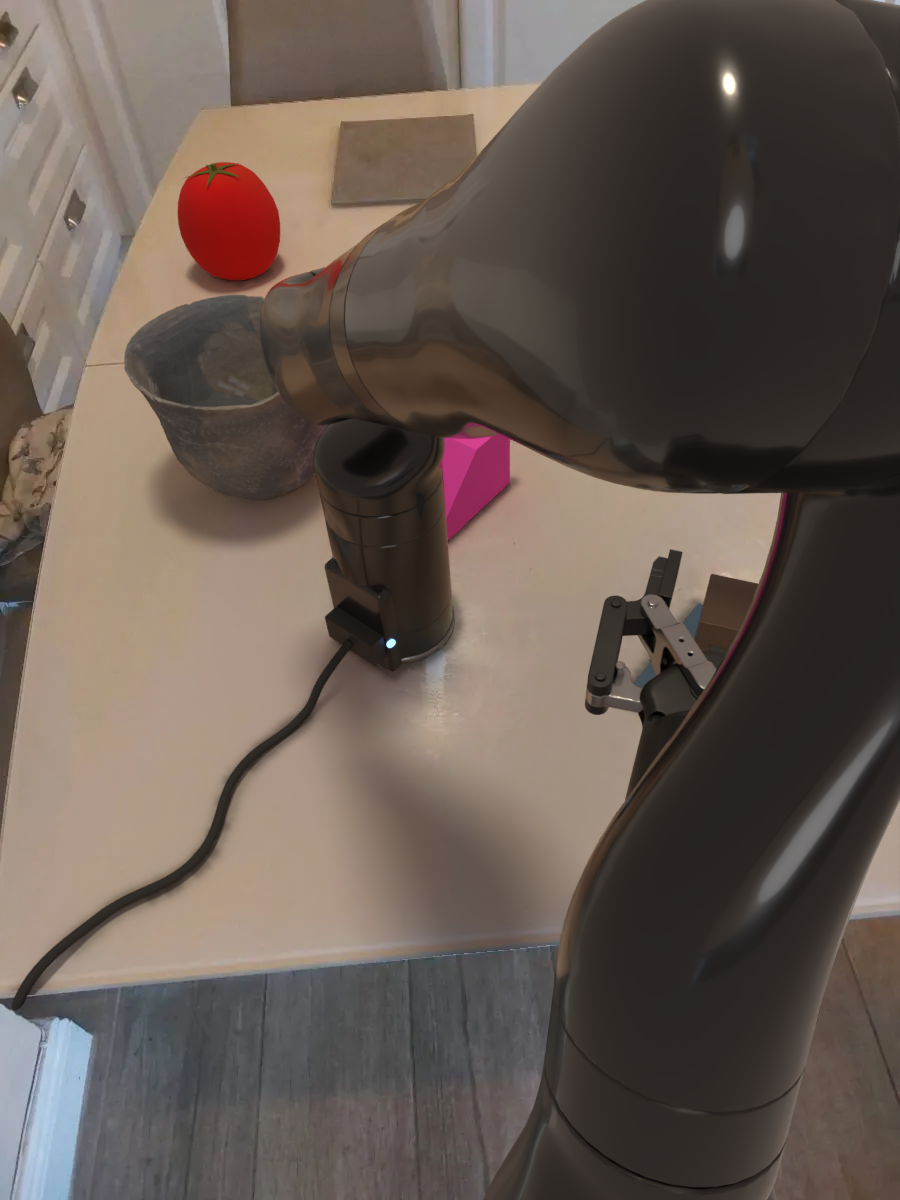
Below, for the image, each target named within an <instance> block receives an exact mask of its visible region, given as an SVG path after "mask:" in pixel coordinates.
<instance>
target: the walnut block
mask: <svg viewBox="0 0 900 1200" xmlns="http://www.w3.org/2000/svg"><path fill="white" fill-rule="evenodd" d="M707 583H708V584H707V587H706V591H705V595H704V598H703V603H702V605H703V606H702V610H701V614H700V618H699V622H698V626H697V630H696V634H695V638H694V640H695V642H696V643H697V645H698V646H699V648H700V649H701V650H702V649H708V648H709V645H713V646H717V647H721V648H725V649H729V647H730V645H731V644H732V642H733V640H734V638H735V636H736V634H737V632H738V631H739V629H740V627H741V625H742V623H743V620H744V618H745V616H746V614H747V611H748V609H749V607H750V605H751V602H752V600H753V598H754V595H755V592H756V589H757V587H758V584H759V582H754V581H753V582H752V581H748V580H744V579H739V578H734V577H729V576H725V575H720V574H715V573H710V576H709V580H708V582H707Z"/></svg>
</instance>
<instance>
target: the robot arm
mask: <svg viewBox="0 0 900 1200" xmlns="http://www.w3.org/2000/svg"><path fill="white" fill-rule="evenodd" d="M264 298H265V300H264V302H263V305H262V311H261V316H260V340H261V346H262V352H263V357H264V360H265V364H266V367H267V369H268V372H269V375H270V377H271V379H272V381H273V383H274V385H275V387H276V389H277V390H278V392H279V394H280V395H281V397H282V398H283V400H284V401H285V402H286V404H287V405H288V406H289V407H290V408H291V409H292V410H293V411H294V412H295V413H296V414H297V415H298V416H299V417H301V418H302V419H304V420H305V421H307V422H309V423H311V424H314V425H328V426H327V427H326V428H325V429H324V431H323V432H322V433H321V435H320V436H319V438H318V440H317V442H316V445H315V448H314V453H313V465H314V472H315V473H314V477H315V481H316V484H317V485H316V486H317V489H318V494H319V497H320V502H321V507H322V511H323V517H324V523H325V528H326V531H327V537H328V540H329V546H330V550H331V556H332V557H331V558H330V559H329V560H328V561H327V562H325V564H324V572H325V576H326V580H327V581H326V582H327V584H328V589H329V594H330V598H331V599H330V600H331V603H332V607H333V609H331V610H330V611H329V612H328V613H327V614H326V615H325V616H324V620H325V623H326V628H327V632H328V637H329V638H331V639H332V640H334V641H335V642H337V643H338V644H340V647H339V648H338V649H337V651H336V652H335V654H333V656H332V657H331V658H330V660H329V662H328V663H327V664H326V666H325V667H324V669H323V670H322V671H321V673H320V675H319V676H318V678H317V679H316V681H315V683H314V685H313V688H312V690H311V692H310V695H309V697H308V700H307V702H306V703H305V705H304V707H302V709H301V710H300V711H299V712H298V714H297V715H295V717H294V718H293V719H292V720H291V721H290V722H289V723H288V724H286V725H285V726H284V727H283V728H281V729H280V730H279V731H277V732H276V733H274V734H273V735H272V736H270V737H268V738H267V739H266V740H264V741H263V742H261V743H259V744H258V745H257V746H256V747H254V748H253V749H252V750H250V751H249V753H247V755H245V756H244V757H243V759H241V761H240V762H238V764H237V765H236V767H234V769H233V770H232V772H231V773H230V775H229V777H228V779H227V780H226V781H225V784H224V786H223V788H222V791H221V794H220V796H219V799H218V803H217V804H216V805H217V806H216V809H215V812H214V816H213V818H212V822H211V825H210V828H209V830H208V833H207V835H206V836H205V838H204V840H203V842H202V843H201V845H200V846H199V848H198V849H197V850H196V851H195V853H194V854H193V855H192V856H191V857H190V858H189V859H188V860H186V862H185V863H183V864H182V865H181V866H179V867H178V868H177V869H176V870H174V871H172V872H171V873H169V874H167V875H166V876H164V877H162V878H160V879H158V880H156V881H154V882H151V883H149V884H146V885H145V886H142V887H140V888H138V889H136V890H135V889H134V890H133V891H131V892H129V893H127V894H125V895H123V896H121V897H119V898H118V899H116V900H114V901H112V902H111V903H109V904H107V905H105V906H104V907H103V908H101V909H100V910H99V911H97V912H96V913H95V914H93V915H92V916H90V917H89V918H88V919H87V920H85V921H84V922H83V923H81V924H80V925H79V926H77V927H75V929H73V930H72V931H71V932H70V933H68V934H67V935H66V936H65V937H63V938H62V939H61V940H59V941H58V942H57V944H55V945H54V946H53V947H51V948H50V949H49V950H48V951H47V952H46V953H45V954H44V955H42V957H41V958H40V959H39V960H38V961H37V962H36V964H35V965H34V966H33V967H32V968H31V969H30V971H29V972H28V974H27V975H26V976H25V978H24V979H23V981H22V982H21V984H20V986H19V988H18V989H17V991H16V993H15V995H14V997H13V1000H12V1003H11V1010H12V1011H18V1010H20V1009H21V1008H22V1007H23V1005H25V1002H26V999H27V998H28V996H29V994H30V993H31V990H32V989H33V987H34V986H35V984H36V982H37V981H38V980H39V978H40V977H41V976H42V975H43V974H44V972H45V971H46V970H48V968H49V967H50V966H51V965H52V964H53V963H54V962H55V961H56V960H57V959H58V958H59V957H60V956H62V954H64V953H65V952H66V951H67V950H68V949H70V948H71V947H72V946H73V945H74V944H76V943H77V942H78V941H79V940H81V939H82V938H83V937H84V936H86V935H87V934H88V933H89V932H91V931H93V930H94V929H95V928H96V927H98V926H99V925H100V924H102V923H103V922H104V921H106V920H107V919H108V918H110V917H111V916H112V915H114V914H117V912H119V911H121V910H123V909H124V908H126V907H129V906H130V905H132V904H134V903H136V902H138V901H140V900H143V899H145V898H147V897H149V896H152V895H154V894H156V893H158V892H161V891H163V890H165V889H166V888H168V887H170V886H172V885H174V884H175V883H178V882H179V881H180V880H183V878H185V877H186V876H187V875H188V874H190V873H191V872H192V871H193V870H194V869H196V867H197V866H198V865H200V864H201V862H203V860H204V859H205V858H206V856H207V855H208V854H209V852H210V851H211V849H212V848H213V846H214V844H215V843H216V840H217V838H218V836H219V834H220V831H221V829H222V826H223V823H224V820H225V816H226V812H227V809H228V806H229V802H230V799H231V796H232V794H233V791H234V789H235V787H236V785H237V783H238V781H239V780H240V779H241V777H242V776H243V774H244V773H245V771H246V770H247V769H248V768H249V767H250V766H251V765H252V764H253V763H254V762H255V761H256V760H257V759H258V758H259V757H261V756H262V755H263V754H265V753H266V752H267V751H269V750H270V749H272V748H273V747H274V746H276V745H277V744H279V743H280V742H281V741H283V740H284V739H286V738H287V737H289V736H290V735H291V734H292V733H293V732H295V731H296V730H297V729H298V728H299V727H300V726H301V725H302V724H303V723H304V722H305V721H306V720H307V718H308V717H309V716H310V715H311V714H312V712H313V711H314V709H315V707H316V705H317V703H318V701H319V699H320V697H321V693H322V692H323V689H324V687H325V685H326V684H327V682H328V681H329V679H330V677H331V676H332V674H333V673H334V672H335V670H336V669H337V667H338V666H339V665H340V663H341V662H342V661H343V659H344V658H345V657H346V655H347V654H348V653H349V651H351V652H352V653H353V654H355V655H356V656H357V657H359V658H361V659H362V660H364V661H365V662H367V663H368V664H370V665H371V666H373V667H377V666H378V665H380V666H381V667H383V668H384V669H386V670H388V671H389V672H395V671H396V670H397V669H398V668H399V667H401V666H403V665H406V664H413V663H416V662H420V661H423V660H424V659H427V658H428V657H431V656H432V655H434V654H436V653H437V652H438V651H439V650H440V649H442V648H443V647H444V646H445V645H446V643H447V642H448V640H449V639H450V638H451V636H452V633H453V630H454V627H455V622H456V621H455V618H456V617H455V609H454V604H453V592H452V580H451V568H450V567H451V565H450V554H449V552H450V551H449V540H448V538H447V524H446V511H445V496H444V482H443V465H442V460H443V456H444V451H445V438H453V439H476V438H484V437H491V436H496V435H502V436H504V437H506V438H508V439H510V441H513V442H514V443H517V444H519V445H520V446H522V447H525V448H527V449H528V450H531V451H532V452H535V453H537V454H538V455H541V456H543V457H545V458H547V459H549V460H552V461H554V462H556V463H558V464H560V465H562V466H564V467H567V468H568V469H572V470H574V471H576V472H579V473H581V474H584V475H587V476H590V477H593V478H594V479H598V480H602V481H605V482H608V483H612V484H615V485H620V486H623V487H627V488H633V489H639V490H644V491H651V492H656V493H657V492H659V493H668V494H699V495H700V494H703V495H704V494H705V495H706V494H712V495H713V494H716V495H717V494H722V495H745V494H747V495H748V494H749V495H750V494H780V496H779V497H780V498H779V504H778V511H777V516H776V521H775V527H774V531H773V535H772V539H771V544H770V547H769V551H768V554H767V556H766V560H765V565H764V566H763V567H764V568H763V571H762V573H761V576H760V579H759V582H758V587H757V589H756V592H755V595H754V598H753V600H752V602H751V605H750V607H749V609H748V611H747V614H746V616H745V618H744V620H743V623H742V625H741V627H740V629H739V631H738V632H737V634H736V636H735V638H734V640H733V642H732V644H731V645H730V647H729V649H725V648H721V647H717V646H713V645H709V648H708V649H702V650H701V649H700V648H699V646H698V645H697V643H696V642H695V640H694V638H693V637H692V635H691V634H690V632H689V631H688V629H687V628H686V626H685V625H684V624H683V621H681V622H678V620H677V619H676V617H675V615H674V614H673V613H672V611H671V605H672V600H673V596H674V592H675V588H676V584H677V580H678V576H679V571H680V566H681V563H682V562H681V561H682V558H683V551H681V550H675V549H669V552H668V555H667V557H665V556H659V555H658V557H657V558H656V559H655V560H653V562H652V566H651V569H650V573H649V577H648V580H647V584H646V588H645V591H644V594H643V596H642V597H641V598H639V599H636V600H626V598H624V596H623V597H622V596H620V595H610V596H608V597H606V598H605V599H604V602H603V607H602V611H601V615H600V620H599V624H598V627H597V633H596V637H595V642H594V646H593V651H592V656H591V660H590V665H589V669H588V674H587V682H586V689H585V697H584V698H585V699H584V708H585V710H586V711H587V712H588V713H590V715H591V714H592V715H594V716H600V715H604V714H605V713H607V711H608V710H609V708H613V709H618V710H620V711H621V710H622V711H627V712H632V713H637V714H638V717H639V720H640V723H641V727H642V728H641V733H640V737H639V740H638V745H637V749H636V753H635V757H634V761H633V765H632V770H631V773H630V778H629V782H628V785H627V790H626V793H625V799H624V801H623V803H622V804H621V805H620V807H619V808H618V810H617V811H616V813H615V814H614V816H613V817H612V819H611V820H610V822H609V823H608V825H607V826H606V828H605V830H604V831H603V833H602V834H601V836H600V837H599V839H598V841H597V843H596V845H595V847H594V848H593V850H592V852H591V854H590V855H589V857H588V859H587V861H586V864H585V866H584V868H583V871H582V873H581V875H580V877H579V879H578V882H577V884H576V886H575V889H574V891H573V894H572V895H571V899H570V902H569V905H568V908H567V910H566V913H565V917H564V920H563V923H562V930H561V934H560V938H559V942H558V947H557V948H558V949H557V956H556V963H555V964H556V965H555V971H554V977H553V978H554V979H553V987H552V994H551V995H552V997H551V1002H550V1003H551V1004H550V1012H549V1018H548V1019H549V1020H548V1027H547V1028H548V1029H547V1036H546V1046H545V1051H544V1052H545V1054H544V1058H543V1066H542V1072H541V1076H540V1082H539V1086H538V1090H537V1093H536V1097H535V1100H534V1103H533V1106H532V1109H531V1112H530V1113H529V1116H528V1118H527V1120H526V1122H525V1125H524V1127H523V1128H522V1130H521V1132H520V1133H519V1135H518V1137H517V1139H516V1140H515V1142H514V1143H513V1145H512V1146H511V1148H510V1150H509V1151H508V1153H507V1155H506V1156H505V1158H504V1160H503V1161H502V1163H501V1165H500V1167H499V1168H498V1170H497V1172H496V1174H495V1175H494V1177H493V1179H492V1180H491V1183H490V1185H489V1187H488V1189H487V1191H486V1193H485V1195H484V1198H483V1200H778V1196H777V1189H776V1180H777V1179H778V1175H779V1172H780V1169H781V1166H782V1162H783V1159H784V1154H785V1150H786V1146H787V1143H788V1140H789V1133H790V1129H791V1125H792V1121H793V1118H794V1113H795V1111H796V1105H797V1103H798V1098H799V1095H800V1090H801V1086H802V1083H803V1079H804V1075H805V1072H806V1067H807V1063H808V1061H809V1056H810V1052H811V1048H812V1043H813V1040H814V1036H815V1033H816V1029H817V1028H816V1027H817V1023H818V1019H819V1015H820V1012H821V1008H822V1003H823V999H824V996H825V993H826V989H827V986H828V983H829V979H830V977H831V976H830V975H831V973H832V969H833V966H834V963H835V960H836V957H837V954H838V952H839V949H840V946H841V944H842V941H843V938H844V936H845V932H846V929H847V928H848V927H847V926H848V925H849V921H850V918H851V917H852V916H851V915H852V913H853V911H854V907H855V905H856V903H857V900H858V897H859V896H860V895H859V894H860V892H861V890H862V887H863V885H864V883H865V880H866V877H867V874H868V872H869V870H870V867H871V864H872V862H873V860H874V858H875V855H876V853H877V851H878V848H879V846H880V845H881V842H882V840H883V837H884V835H886V834H885V833H886V832H887V830H888V827H889V825H890V823H891V821H892V818H893V816H894V815H895V812H896V810H897V808H898V805H899V804H900V4H895V3H890V2H885V1H879V0H643V1H641V2H640V3H637V4H636V5H633V6H631V7H630V8H628V9H626V10H625V11H623V12H621V13H619V14H618V15H616V16H615V17H613V18H611V19H610V20H609V21H607V22H606V23H605V24H603V25H602V26H601V27H599V28H598V29H597V30H596V31H594V32H593V33H592V34H590V35H589V36H588V37H587V38H586V39H585V40H584V41H583V42H582V43H581V44H580V45H579V46H577V47H576V49H574V50H573V51H572V52H571V53H570V54H569V55H568V56H567V57H566V58H565V59H564V60H562V62H560V63H559V64H558V66H556V67H555V68H554V69H553V70H552V71H551V72H550V74H549V75H547V76H546V78H545V79H544V80H543V81H542V82H541V83H540V84H539V85H538V86H537V88H536V89H535V90H534V91H533V92H532V93H531V94H530V95H529V96H528V98H527V99H526V100H525V101H524V102H523V103H522V104H521V105H520V106H519V107H518V109H517V110H516V111H515V112H514V113H513V115H512V116H511V117H510V118H509V119H508V120H507V122H506V123H505V124H504V125H503V126H502V128H501V129H500V130H498V131H497V132H496V134H495V135H494V136H493V137H492V138H491V139H490V141H489V142H488V143H487V145H485V147H483V149H482V150H481V151H480V152H479V153H478V154H477V155H476V156H475V157H474V159H472V161H471V162H470V163H469V164H468V165H467V167H465V168H464V170H462V171H461V172H460V173H459V174H458V175H457V176H455V177H454V178H453V179H451V180H449V181H448V182H446V183H445V184H444V185H442V186H441V187H440V188H438V189H437V190H436V191H434V192H433V193H432V194H430V195H429V196H428V197H426V198H425V199H424V200H422V201H421V202H419V203H417V204H414V205H412V206H410V207H408V208H406V209H404V210H402V211H401V212H399V213H397V214H395V215H394V216H393V217H391V218H390V219H389V220H387V221H385V222H384V223H382V224H381V225H379V226H378V227H376V228H374V229H373V230H372V231H370V232H369V233H368V234H367V235H365V236H364V237H363V238H362V239H360V241H359V242H357V243H356V244H355V245H353V246H352V247H350V248H349V249H348V250H346V251H345V252H343V253H342V254H341V255H339V256H338V257H336V258H335V259H333V261H332V262H330V263H329V264H327V265H326V266H324V267H320V268H317V269H313V270H309V271H306V272H302V273H298V274H295V275H292V276H289V277H287V278H284V279H282V280H281V281H278V282H277V283H275V284H274V285H273V286H272V287H270V289H269V290H268V292H267V293H266V295H265V297H264ZM630 636H633V637H634V636H637V638H638V639H639V641H640V643H641V645H642V647H644V649H645V651H646V652H647V655H648V656H649V658H650V662H652V667H653V670H654V672H655V674H656V675H657V676H655V677H654V678H652V679H651V680H649V681H648V682H647V683H646V684H645V685H644V686H643V688H642V687H639V686H637V685H635V684H634V681H633V679H632V672H631V670H630V669H629V667H627V666H626V664H625V662H623V661H620V660H619V657H620V653H621V647H622V641H623V637H630Z"/></svg>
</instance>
